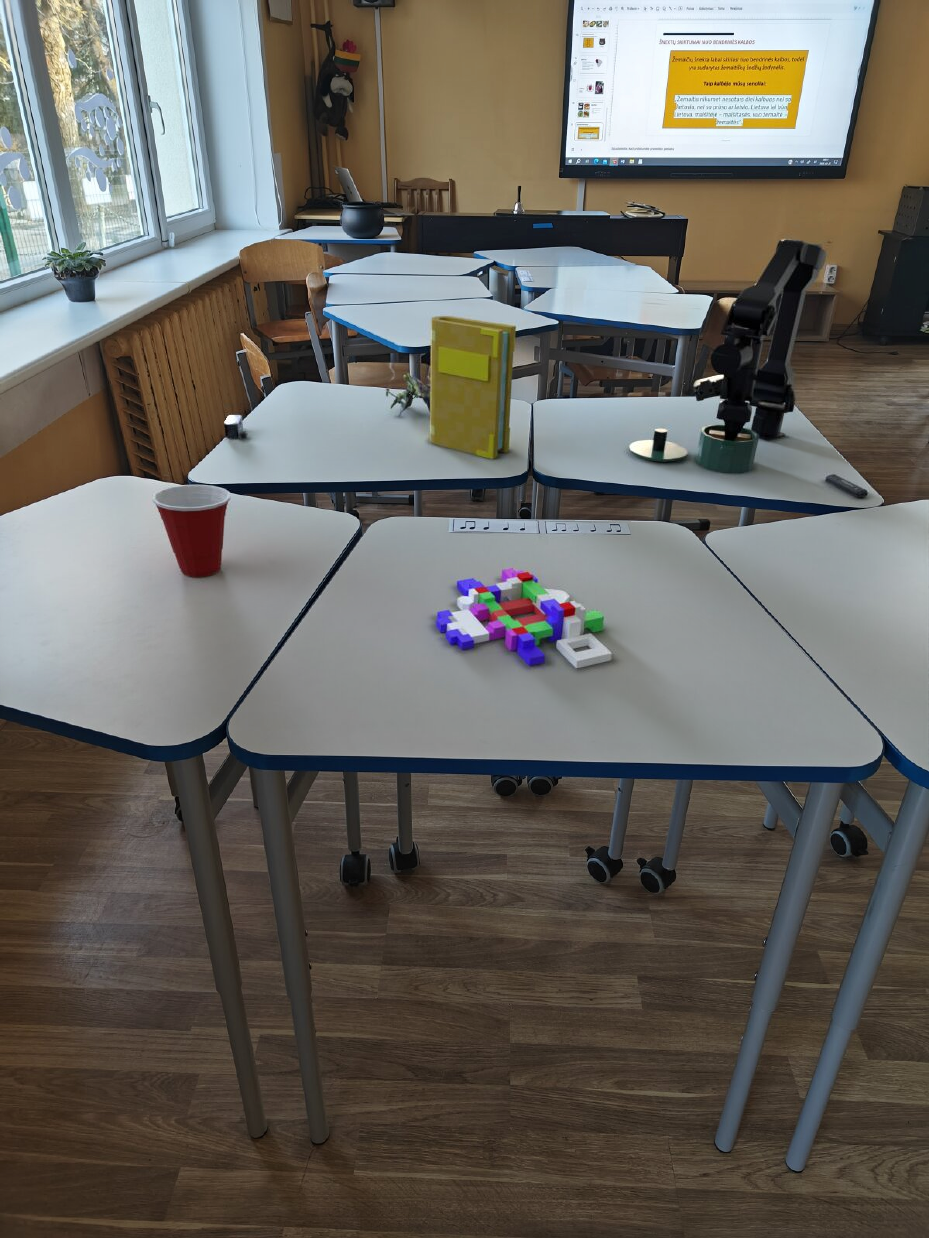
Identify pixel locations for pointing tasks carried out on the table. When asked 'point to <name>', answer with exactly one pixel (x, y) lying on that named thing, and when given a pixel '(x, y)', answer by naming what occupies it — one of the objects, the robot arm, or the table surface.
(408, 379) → the green spindly figure
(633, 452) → the lid
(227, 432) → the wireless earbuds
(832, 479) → the usb stick
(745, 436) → the wooden block
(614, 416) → the table surface
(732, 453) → the pot
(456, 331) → the book
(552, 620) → the building block set
